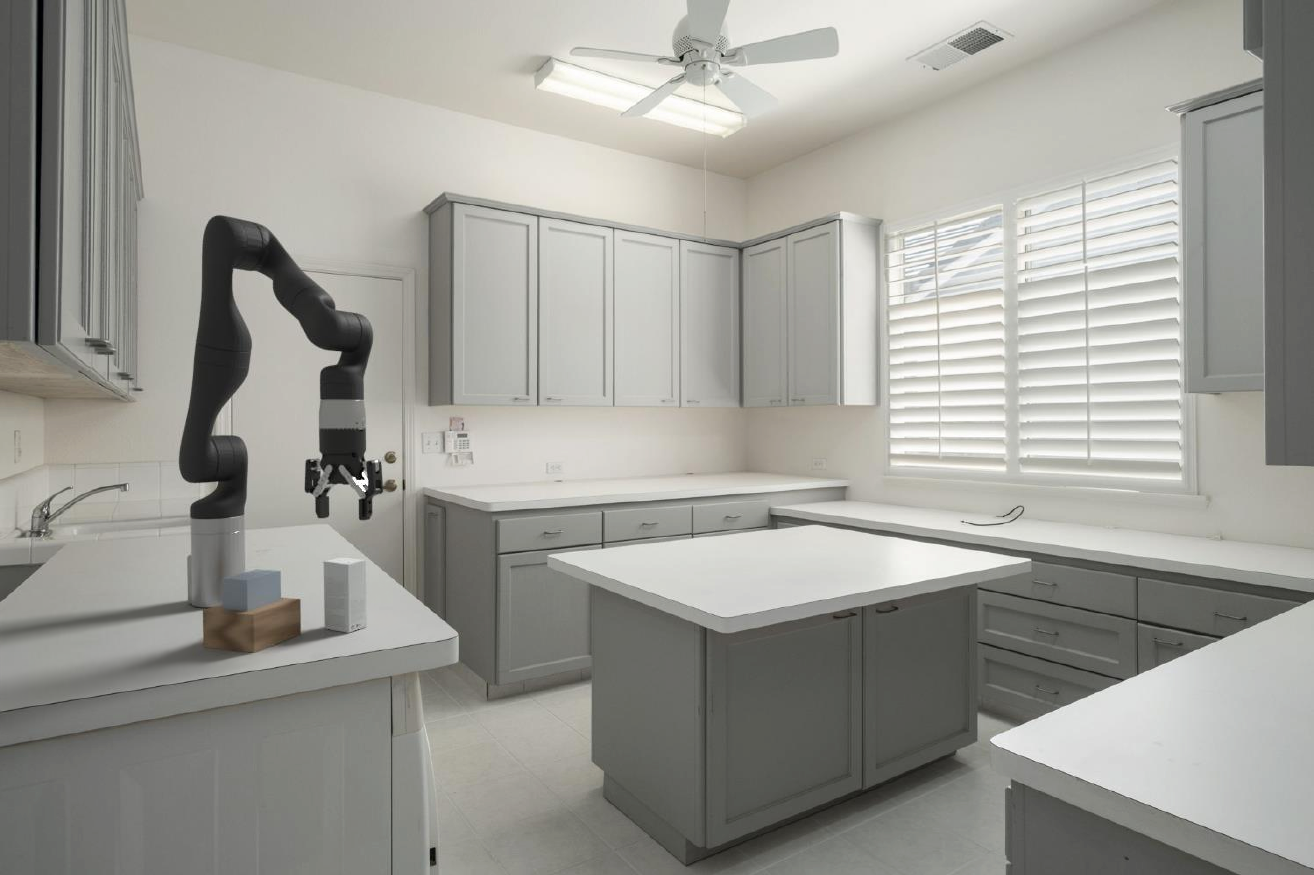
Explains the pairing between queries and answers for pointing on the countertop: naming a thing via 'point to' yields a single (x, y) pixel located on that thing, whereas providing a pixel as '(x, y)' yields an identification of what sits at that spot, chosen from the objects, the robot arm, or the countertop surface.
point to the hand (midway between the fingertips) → (344, 518)
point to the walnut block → (251, 626)
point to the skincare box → (345, 594)
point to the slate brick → (251, 589)
